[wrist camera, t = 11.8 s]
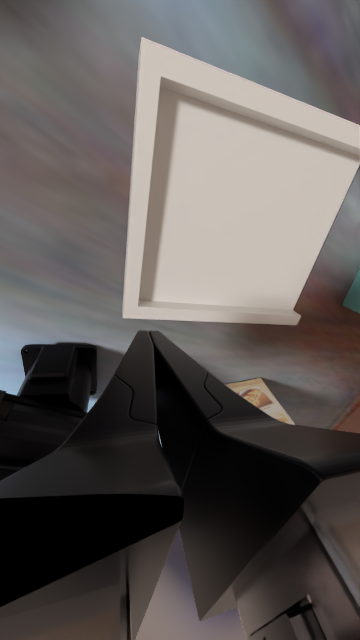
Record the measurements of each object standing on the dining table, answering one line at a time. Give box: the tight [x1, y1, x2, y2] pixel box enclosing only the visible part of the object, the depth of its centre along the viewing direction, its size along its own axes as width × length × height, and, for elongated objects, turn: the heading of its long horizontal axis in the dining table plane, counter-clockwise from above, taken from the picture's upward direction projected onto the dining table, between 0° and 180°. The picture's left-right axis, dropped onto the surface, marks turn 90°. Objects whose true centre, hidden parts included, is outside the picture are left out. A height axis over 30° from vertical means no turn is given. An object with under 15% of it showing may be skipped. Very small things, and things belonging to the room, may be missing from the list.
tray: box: [122, 37, 360, 325], centre depth 19 cm, size 17×19×2 cm
